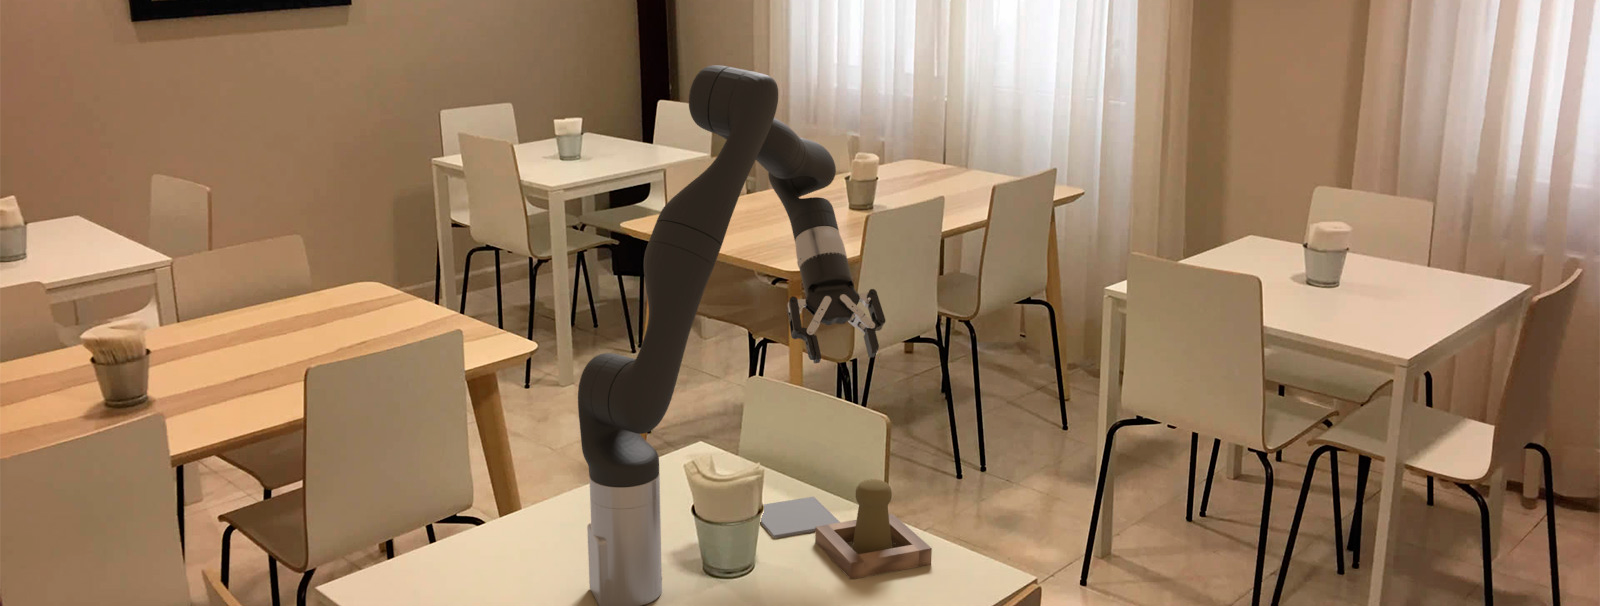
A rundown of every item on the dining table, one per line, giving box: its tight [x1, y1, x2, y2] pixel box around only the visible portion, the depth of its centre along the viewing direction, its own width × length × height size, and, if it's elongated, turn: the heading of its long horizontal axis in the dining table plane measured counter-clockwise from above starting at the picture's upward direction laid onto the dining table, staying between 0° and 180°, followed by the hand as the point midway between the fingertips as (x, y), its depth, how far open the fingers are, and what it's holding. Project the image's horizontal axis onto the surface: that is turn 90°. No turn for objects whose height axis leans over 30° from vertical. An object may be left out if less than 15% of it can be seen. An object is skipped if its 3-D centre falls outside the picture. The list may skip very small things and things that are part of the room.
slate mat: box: [760, 496, 841, 539], centre depth 199 cm, size 11×11×1 cm
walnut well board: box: [814, 513, 933, 580], centre depth 187 cm, size 13×13×2 cm
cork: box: [851, 478, 893, 554], centre depth 186 cm, size 6×6×11 cm
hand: (845, 358), depth 192 cm, fingers open, 8 cm apart
